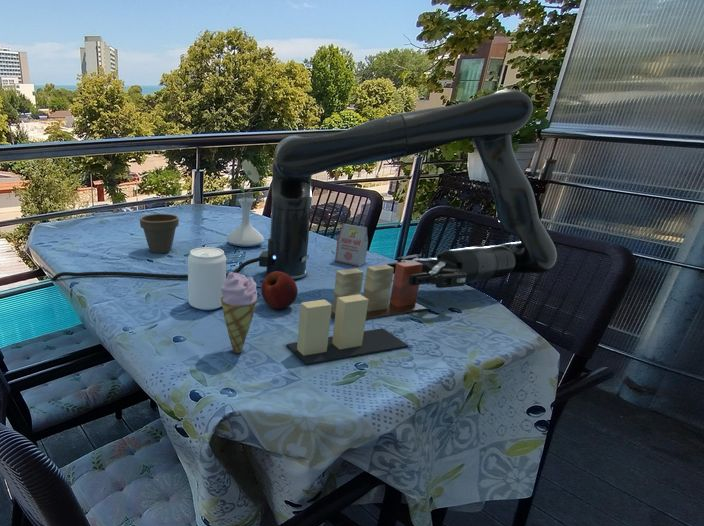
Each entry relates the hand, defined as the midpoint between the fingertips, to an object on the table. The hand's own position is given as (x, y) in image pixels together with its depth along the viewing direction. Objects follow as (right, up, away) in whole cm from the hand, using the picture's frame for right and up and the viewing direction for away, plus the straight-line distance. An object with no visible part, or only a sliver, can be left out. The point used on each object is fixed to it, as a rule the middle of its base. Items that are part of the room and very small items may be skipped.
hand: (398, 274), depth 95 cm
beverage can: (-39, -6, +7) cm, 40 cm away
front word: (-15, -14, -12) cm, 24 cm away
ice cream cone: (-35, -14, -12) cm, 39 cm away
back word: (-4, -7, +2) cm, 9 cm away
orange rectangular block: (+2, -6, +3) cm, 7 cm away
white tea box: (+1, +5, +30) cm, 31 cm away
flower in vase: (-24, +12, +49) cm, 56 cm away
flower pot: (-50, +9, +45) cm, 68 cm away
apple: (-24, -7, +5) cm, 25 cm away
